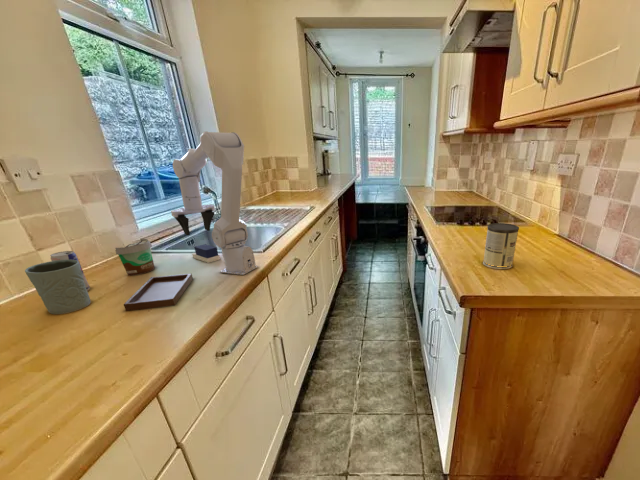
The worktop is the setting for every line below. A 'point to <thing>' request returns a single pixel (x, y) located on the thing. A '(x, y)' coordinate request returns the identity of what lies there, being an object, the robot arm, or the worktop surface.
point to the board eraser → (206, 253)
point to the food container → (136, 257)
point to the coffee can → (500, 245)
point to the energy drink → (68, 256)
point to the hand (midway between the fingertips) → (197, 232)
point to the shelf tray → (159, 292)
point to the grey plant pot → (60, 285)
